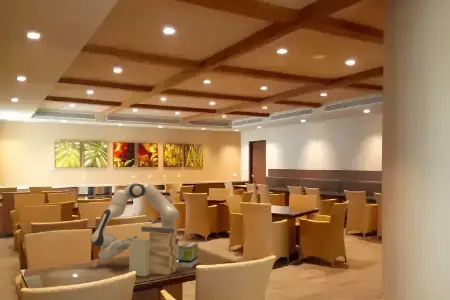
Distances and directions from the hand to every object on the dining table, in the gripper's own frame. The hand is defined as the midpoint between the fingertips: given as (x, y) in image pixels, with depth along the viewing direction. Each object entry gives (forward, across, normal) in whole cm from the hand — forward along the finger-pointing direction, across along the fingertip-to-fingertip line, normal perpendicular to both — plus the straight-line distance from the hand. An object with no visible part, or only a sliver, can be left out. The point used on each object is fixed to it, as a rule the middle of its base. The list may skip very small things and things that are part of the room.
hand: (132, 237), depth 275 cm
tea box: (+15, +23, +34) cm, 44 cm away
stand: (+10, 0, +30) cm, 31 cm away
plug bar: (+19, 0, +5) cm, 20 cm away
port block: (0, -11, +24) cm, 27 cm away
